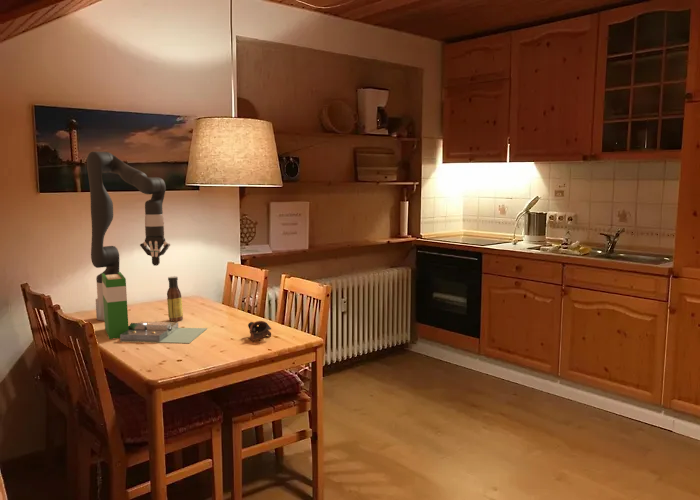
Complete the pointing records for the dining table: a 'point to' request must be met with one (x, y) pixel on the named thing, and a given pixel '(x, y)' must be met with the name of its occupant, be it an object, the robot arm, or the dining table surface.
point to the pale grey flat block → (162, 326)
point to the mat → (179, 336)
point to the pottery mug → (259, 330)
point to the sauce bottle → (174, 300)
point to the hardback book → (115, 304)
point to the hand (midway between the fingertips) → (156, 265)
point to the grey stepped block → (143, 333)
